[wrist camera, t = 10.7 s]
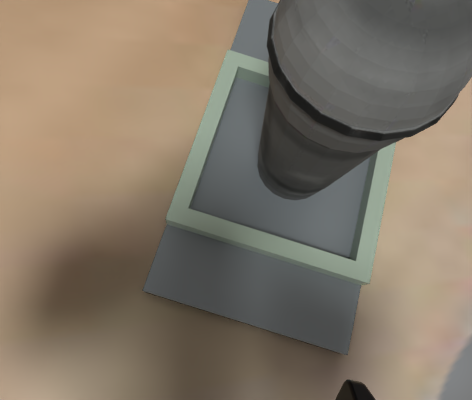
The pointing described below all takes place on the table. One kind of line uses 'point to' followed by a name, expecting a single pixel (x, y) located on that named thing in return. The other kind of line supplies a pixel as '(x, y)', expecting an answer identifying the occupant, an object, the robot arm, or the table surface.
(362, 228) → the socket board
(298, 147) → the beverage cup
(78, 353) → the table surface
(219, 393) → the table surface
